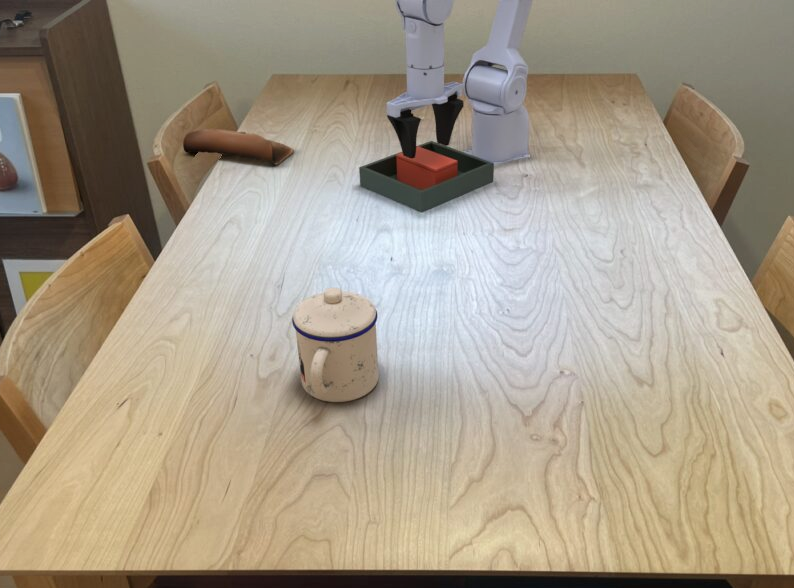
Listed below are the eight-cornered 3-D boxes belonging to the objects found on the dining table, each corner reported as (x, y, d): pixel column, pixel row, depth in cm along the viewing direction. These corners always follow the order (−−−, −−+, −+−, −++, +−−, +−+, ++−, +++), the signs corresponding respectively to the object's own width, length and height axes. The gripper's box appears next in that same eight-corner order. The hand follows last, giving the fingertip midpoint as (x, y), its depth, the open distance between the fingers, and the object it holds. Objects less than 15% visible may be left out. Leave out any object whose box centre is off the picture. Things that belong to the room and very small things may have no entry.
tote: (431, 161, 153) (431, 140, 151) (493, 184, 144) (494, 163, 142) (360, 188, 143) (358, 167, 141) (422, 215, 135) (421, 192, 133)
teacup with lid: (315, 353, 103) (305, 266, 97) (389, 362, 102) (385, 274, 95) (278, 416, 94) (265, 323, 87) (360, 426, 92) (353, 333, 86)
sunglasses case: (297, 147, 156) (284, 122, 151) (283, 179, 154) (270, 155, 148) (208, 136, 161) (193, 111, 155) (193, 167, 159) (177, 143, 153)
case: (418, 171, 148) (418, 146, 145) (457, 186, 142) (457, 160, 140) (397, 180, 145) (396, 154, 142) (435, 196, 139) (435, 169, 137)
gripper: (408, 80, 126) (410, 169, 134) (477, 59, 135) (475, 144, 142) (375, 69, 130) (379, 157, 138) (444, 50, 139) (444, 133, 146)
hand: (426, 150), depth 140 cm, fingers open, 7 cm apart
